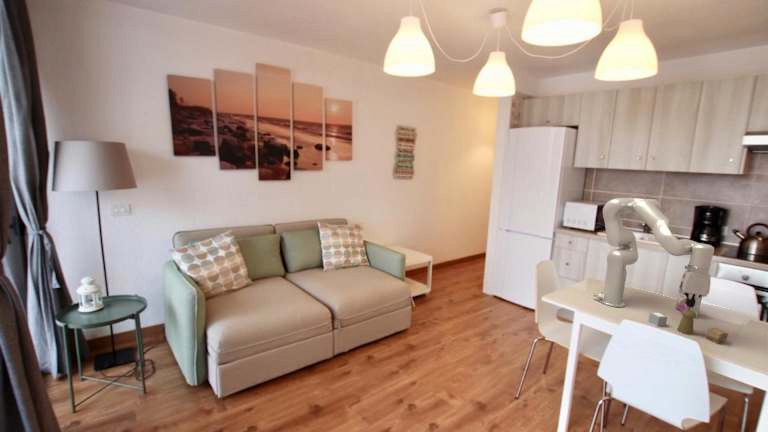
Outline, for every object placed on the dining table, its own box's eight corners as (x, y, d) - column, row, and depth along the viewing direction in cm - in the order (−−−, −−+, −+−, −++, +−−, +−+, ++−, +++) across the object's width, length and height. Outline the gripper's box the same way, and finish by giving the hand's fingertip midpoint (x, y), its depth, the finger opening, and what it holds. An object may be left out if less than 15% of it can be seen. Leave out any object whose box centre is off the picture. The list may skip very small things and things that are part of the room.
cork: (673, 328, 175) (678, 307, 173) (685, 328, 175) (689, 308, 173) (685, 335, 169) (689, 313, 167) (696, 335, 169) (701, 313, 167)
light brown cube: (717, 344, 162) (719, 333, 161) (705, 338, 167) (707, 328, 166) (726, 343, 163) (728, 333, 162) (714, 337, 168) (716, 327, 167)
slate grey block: (657, 326, 177) (659, 316, 176) (648, 321, 181) (650, 312, 180) (665, 326, 178) (667, 316, 177) (656, 321, 182) (658, 311, 181)
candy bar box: (674, 308, 199) (680, 280, 196) (685, 309, 199) (690, 281, 196) (687, 317, 189) (693, 288, 186) (698, 318, 188) (704, 289, 185)
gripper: (683, 270, 165) (674, 306, 169) (722, 274, 161) (712, 312, 165) (675, 265, 172) (667, 300, 176) (712, 269, 168) (703, 305, 172)
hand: (689, 306), depth 170 cm, fingers closed
